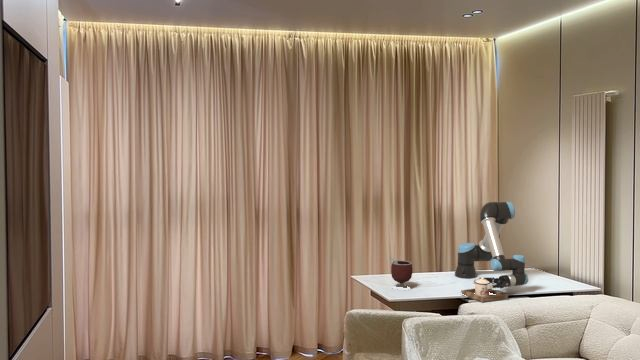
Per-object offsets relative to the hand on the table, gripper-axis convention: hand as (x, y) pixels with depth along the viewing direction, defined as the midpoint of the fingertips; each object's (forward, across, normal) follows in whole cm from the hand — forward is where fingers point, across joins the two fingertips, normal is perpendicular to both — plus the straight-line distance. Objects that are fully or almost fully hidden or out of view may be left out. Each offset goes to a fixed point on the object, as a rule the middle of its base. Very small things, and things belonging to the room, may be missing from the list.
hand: (480, 284), depth 374 cm
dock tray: (-3, 0, -8) cm, 9 cm away
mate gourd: (+33, +40, -9) cm, 52 cm away
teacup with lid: (-3, 0, -8) cm, 9 cm away
